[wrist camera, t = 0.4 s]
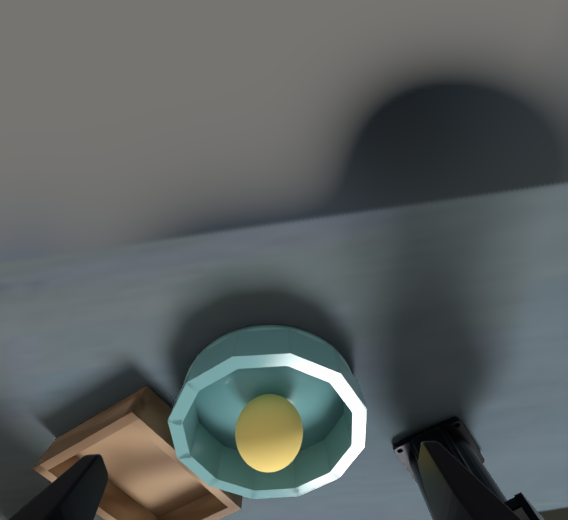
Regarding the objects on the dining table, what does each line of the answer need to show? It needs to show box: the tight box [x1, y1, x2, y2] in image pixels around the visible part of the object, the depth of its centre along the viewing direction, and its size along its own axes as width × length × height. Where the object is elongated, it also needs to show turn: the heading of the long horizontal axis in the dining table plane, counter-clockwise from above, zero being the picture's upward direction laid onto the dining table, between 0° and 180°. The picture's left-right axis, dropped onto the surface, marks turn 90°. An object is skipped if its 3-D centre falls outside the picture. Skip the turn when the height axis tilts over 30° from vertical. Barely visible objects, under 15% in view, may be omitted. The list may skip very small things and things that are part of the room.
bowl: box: [168, 325, 367, 499], centre depth 23 cm, size 14×14×3 cm
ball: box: [235, 394, 303, 472], centre depth 22 cm, size 5×5×5 cm
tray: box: [33, 386, 242, 520], centre depth 25 cm, size 14×11×3 cm
